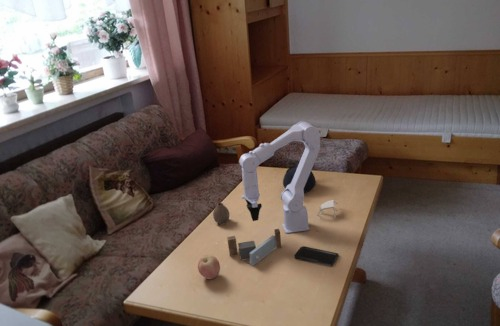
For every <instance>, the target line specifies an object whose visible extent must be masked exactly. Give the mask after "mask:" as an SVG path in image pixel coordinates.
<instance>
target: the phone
mask: <svg viewBox="0 0 500 326" xmlns="http://www.w3.org/2000/svg"><path fill="white" fill-rule="evenodd" d="M293 256H294V259H295V260H298V261H299V260H300V261H303V262H308V263H312V264H317V265H321V266H326V267H330V268H333V267H334V266H335V264H336V263H337V261H338V259H339V257H340V254H339V253H337V252H333V251H328V250H322V249H318V248H314V247H310V246H304V245H302V246H299V248H298V250H297V251H296V252H295V254H294V255H293Z"/></svg>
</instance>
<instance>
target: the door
mask: <svg viewBox="0 0 500 326" xmlns="http://www.w3.org/2000/svg"><path fill="white" fill-rule="evenodd" d="M275 249H277V247H276V239H275V235H273V234H272V235H271V236H270V237H268V238H267V239H266V240H265V241H263V242H262V243H260V244H259V245H258V246H257V247H256V248H255V249H254V250H253V251H251V252H250V253H249V255H250V259H249V262H250V263H249V264H250V266H255V265H256V264H257V263H259V262H260V261H262V259H264V258H265V257H266V256H267V255H268V254H270V253H271V252H273V251H274V250H275Z"/></svg>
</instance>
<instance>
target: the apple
mask: <svg viewBox="0 0 500 326" xmlns="http://www.w3.org/2000/svg"><path fill="white" fill-rule="evenodd" d="M197 269H198V273H199V274H200V276H202V277H203V278H205V279H207V280H213V279H215V278H216V277H217V276H218V275H219V274H220V271H221V264H220V261H219V260H218V258H217V257H216V256H213V255H209V254H208V255H204V256H202V257H200V258H199V260H198V263H197Z"/></svg>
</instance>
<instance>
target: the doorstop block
mask: <svg viewBox="0 0 500 326" xmlns="http://www.w3.org/2000/svg"><path fill="white" fill-rule="evenodd" d="M237 244H238V246H237V247H238V255H239V258H240V261H244V260H250V255H249V253H250V252H251V251H253V250H254V249H255V248H257V247H256V243H255V240H250V241H243V242H238V243H237Z"/></svg>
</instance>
